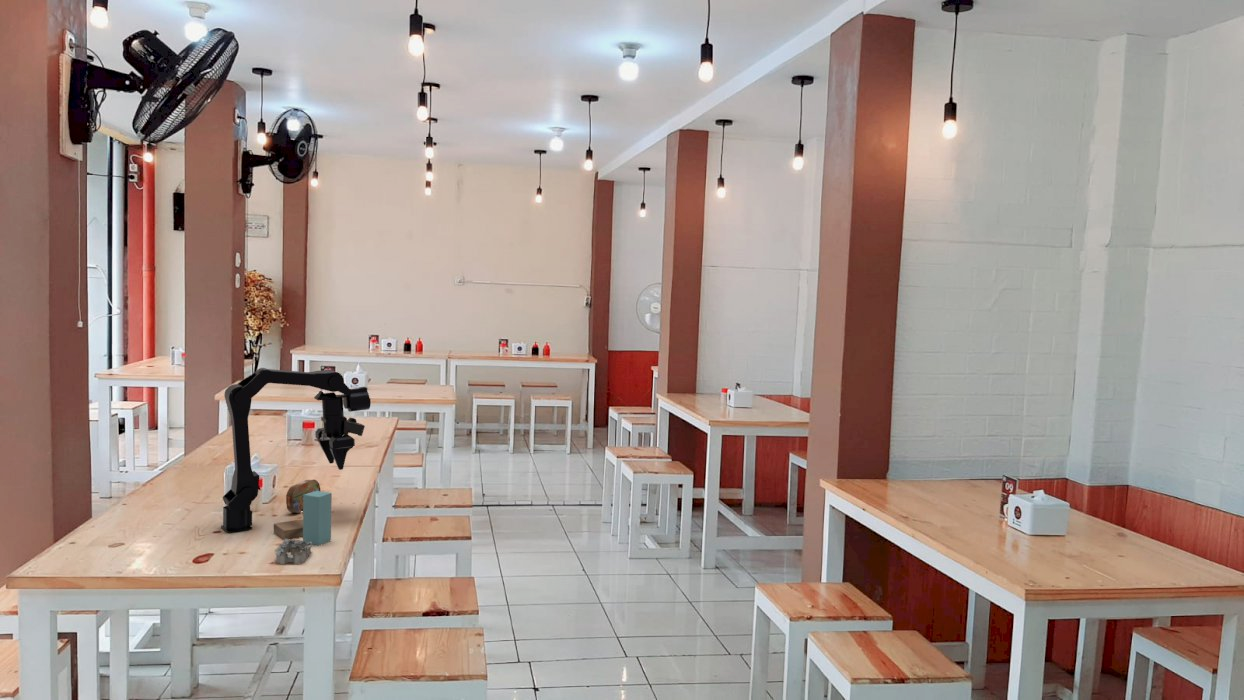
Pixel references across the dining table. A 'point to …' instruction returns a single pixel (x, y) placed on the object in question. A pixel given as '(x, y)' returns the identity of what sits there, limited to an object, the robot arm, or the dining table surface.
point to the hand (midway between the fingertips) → (336, 466)
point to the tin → (300, 494)
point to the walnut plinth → (289, 529)
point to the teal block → (317, 517)
